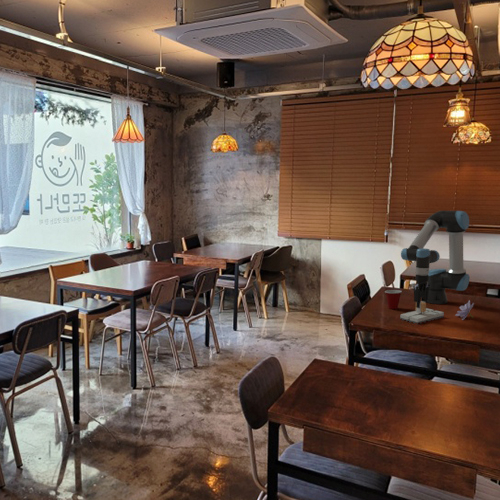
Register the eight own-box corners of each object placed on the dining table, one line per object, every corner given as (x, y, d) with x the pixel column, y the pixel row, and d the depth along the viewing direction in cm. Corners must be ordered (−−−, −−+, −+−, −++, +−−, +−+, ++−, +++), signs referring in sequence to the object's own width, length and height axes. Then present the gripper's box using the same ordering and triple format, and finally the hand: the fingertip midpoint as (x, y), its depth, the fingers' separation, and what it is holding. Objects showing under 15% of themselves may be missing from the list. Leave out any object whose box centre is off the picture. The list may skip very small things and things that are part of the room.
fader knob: (415, 316, 278) (415, 302, 277) (418, 315, 280) (418, 301, 279) (422, 317, 274) (423, 303, 273) (425, 317, 276) (426, 303, 275)
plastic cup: (389, 305, 310) (389, 288, 308) (404, 308, 302) (404, 290, 301) (380, 308, 302) (381, 290, 301) (396, 311, 295) (396, 293, 293)
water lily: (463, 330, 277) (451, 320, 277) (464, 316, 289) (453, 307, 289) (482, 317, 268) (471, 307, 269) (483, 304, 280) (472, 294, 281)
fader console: (400, 319, 276) (400, 314, 275) (426, 313, 290) (426, 307, 290) (417, 324, 266) (417, 318, 266) (443, 317, 280) (443, 311, 280)
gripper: (419, 276, 266) (417, 315, 269) (435, 273, 275) (434, 311, 278) (408, 274, 272) (406, 313, 275) (425, 272, 281) (423, 309, 284)
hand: (420, 312), depth 277 cm, fingers closed on fader knob, 3 cm apart
